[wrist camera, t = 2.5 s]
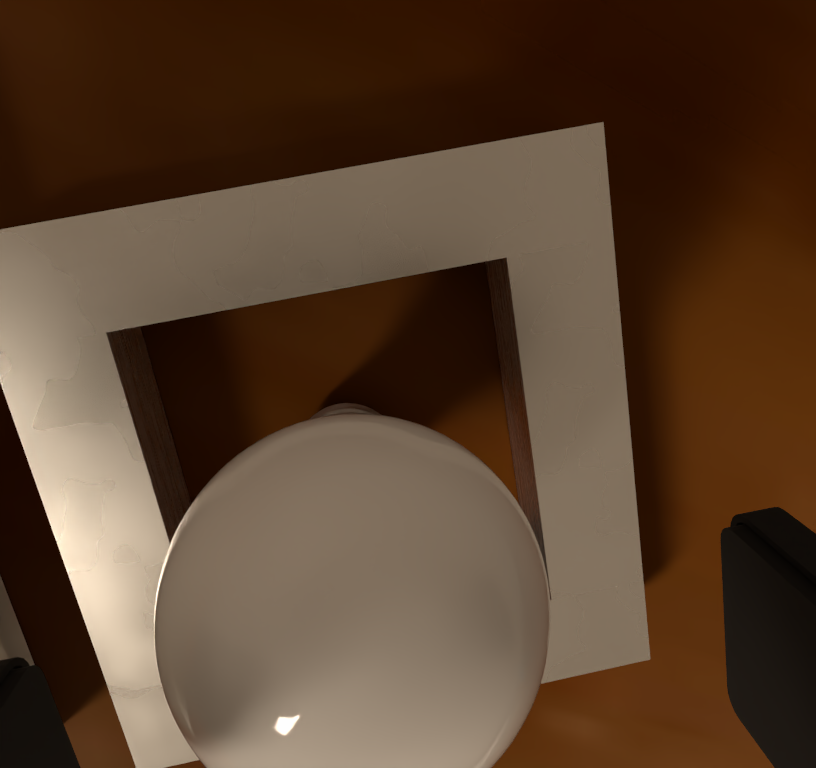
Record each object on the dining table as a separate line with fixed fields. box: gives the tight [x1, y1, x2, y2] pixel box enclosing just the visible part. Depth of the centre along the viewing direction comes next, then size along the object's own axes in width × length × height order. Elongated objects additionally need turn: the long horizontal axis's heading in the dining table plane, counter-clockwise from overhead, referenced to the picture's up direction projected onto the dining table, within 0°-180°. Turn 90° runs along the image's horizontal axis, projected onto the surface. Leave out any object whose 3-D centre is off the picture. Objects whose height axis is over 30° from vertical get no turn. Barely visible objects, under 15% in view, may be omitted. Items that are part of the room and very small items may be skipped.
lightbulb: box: [154, 403, 551, 768], centre depth 14 cm, size 6×6×11 cm
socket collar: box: [0, 122, 650, 768], centre depth 18 cm, size 14×14×2 cm
